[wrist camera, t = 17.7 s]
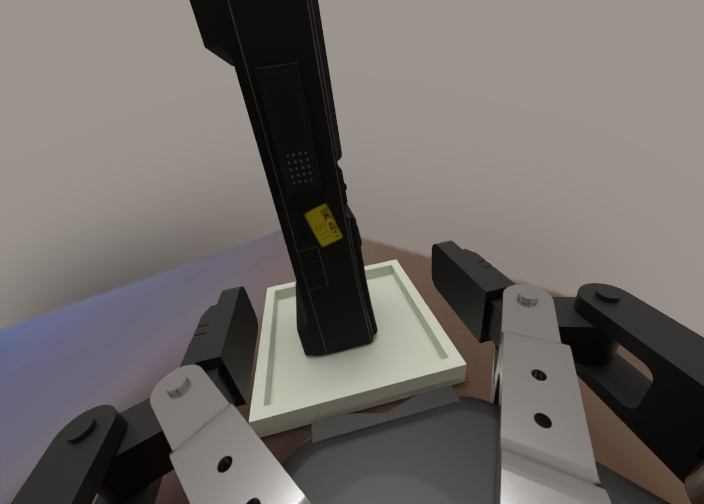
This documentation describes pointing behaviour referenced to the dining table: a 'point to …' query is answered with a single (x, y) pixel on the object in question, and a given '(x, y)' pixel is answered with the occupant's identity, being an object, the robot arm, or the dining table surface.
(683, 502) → the dining table surface
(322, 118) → the portable radio
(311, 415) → the sage tray
